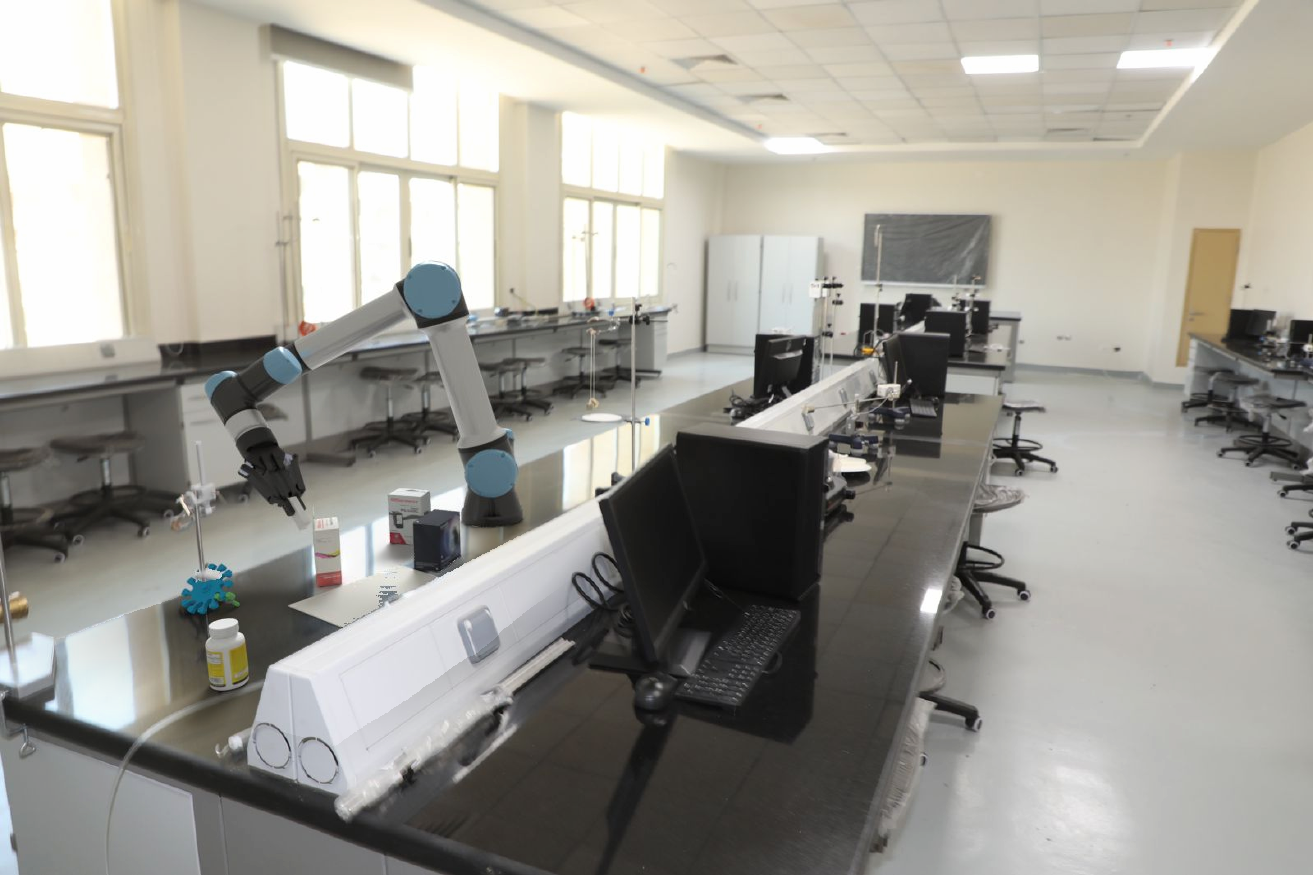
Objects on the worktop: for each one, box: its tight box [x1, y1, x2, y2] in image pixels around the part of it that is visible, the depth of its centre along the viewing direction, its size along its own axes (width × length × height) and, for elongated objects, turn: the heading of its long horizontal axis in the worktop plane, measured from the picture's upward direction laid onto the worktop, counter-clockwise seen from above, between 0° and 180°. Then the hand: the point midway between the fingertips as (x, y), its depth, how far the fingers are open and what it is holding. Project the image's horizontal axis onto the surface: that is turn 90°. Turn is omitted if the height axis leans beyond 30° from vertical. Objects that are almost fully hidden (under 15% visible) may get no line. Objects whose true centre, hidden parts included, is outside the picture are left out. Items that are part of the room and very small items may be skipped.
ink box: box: [387, 487, 432, 546], centre depth 193 cm, size 9×5×12 cm, turn 78°
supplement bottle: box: [205, 617, 250, 692], centre depth 128 cm, size 5×5×10 cm
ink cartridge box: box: [312, 505, 343, 588], centre depth 170 cm, size 9×5×15 cm, turn 23°
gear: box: [180, 563, 241, 615], centre depth 158 cm, size 11×6×10 cm
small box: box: [412, 508, 462, 573], centre depth 180 cm, size 11×6×10 cm, turn 168°
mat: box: [287, 564, 437, 628], centre depth 163 cm, size 26×18×1 cm
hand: (305, 526), depth 173 cm, fingers closed
